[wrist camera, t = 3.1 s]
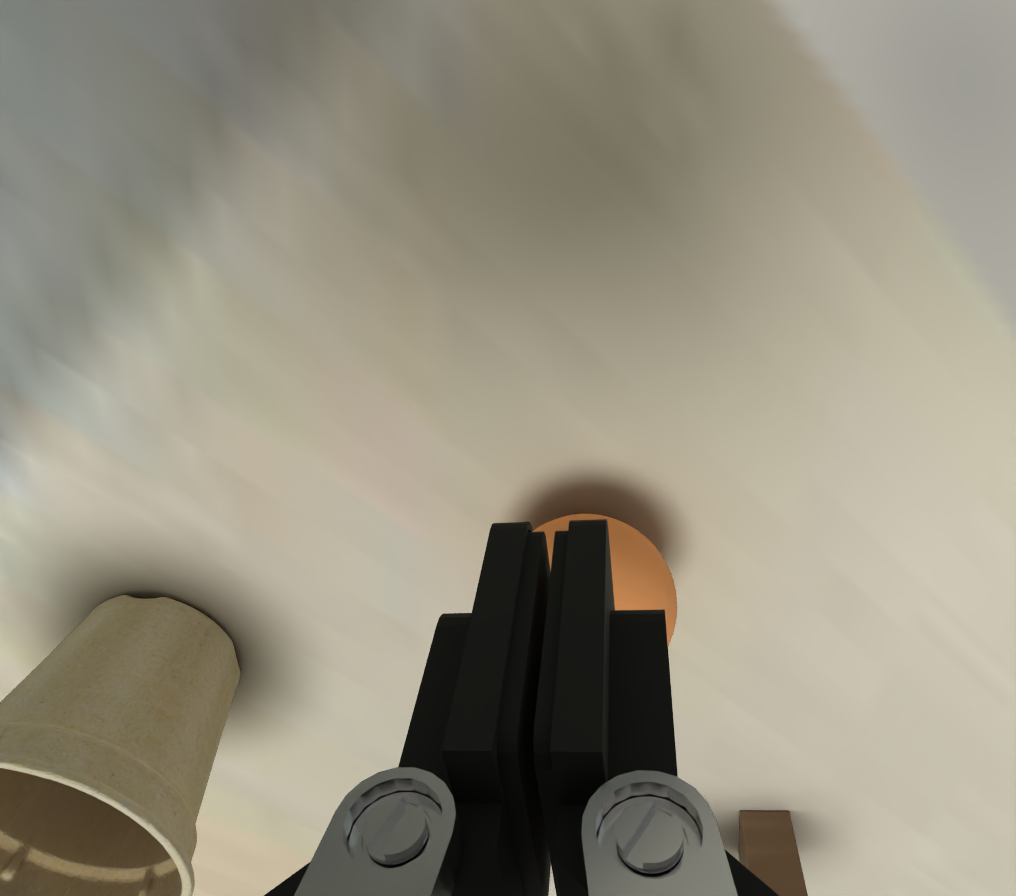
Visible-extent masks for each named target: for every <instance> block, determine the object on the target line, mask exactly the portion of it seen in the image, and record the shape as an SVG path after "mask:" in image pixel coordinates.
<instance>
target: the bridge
mask: <svg viewBox="0 0 1016 896" xmlns="http://www.w3.org/2000/svg"><path fill="white" fill-rule="evenodd" d="M738 853H739V860H740V863H741V864H742V865H744V866H745V867H746V868H747V869H748V870H750V871H751V872H752V873H753V874H754V875H755V876H757V877H758V878H759V879H760V880H761V881H763V882H764V883H765V884H766V885H767V886H768V887H770V888H771V889H772V890H773V891H774V892H776V893H777V894H778V895H779V896H808V895H807V890H806V886H805V881H804V877H803V872H802V868H801V863H800V859H799V854H798V850H797V845H796V840H795V836H794V831H793V827H792V822H791V818H790V813H789V811H740V816H739V850H738Z"/></svg>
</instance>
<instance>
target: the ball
mask: <svg viewBox="0 0 1016 896" xmlns="http://www.w3.org/2000/svg"><path fill="white" fill-rule="evenodd" d="M596 519H607V522H608V531H609V543H610V555H611V568H612V580H613V592H614V604H615V610H662V609H665V618H666V631H667V644H668V645H669V643H670V641H671V638H672V635H673V632H674V628H675V623H676V617H677V597H676V590H675V586H674V582H673V578H672V575H671V573H670V570H669V568H668V566H667V564H666V562H665V560H664V558H663V557H662V556H661V554H660V553H659V551H658V550H657V549H656V547H655V546H654V545H653V544H652V543H651V542H650V541H649V540H648V539H647V538H646V537H645V536H644V535H643V534H641V533H640V532H639V531H638V530H636V529H635V528H633V527H631V526H630V525H628V524H626V523H624V522H621V521H619V520H617V519H614V518H611V517H607V516H603V515H597V514H573V515H568V516H563V517H560V518H557V519H554V520H551V521H549V522H547V523H545V524H543V525H541V526H540V527H538V528H536V529H535V530H534V531H532V532H540V531H544V532H545V535H546V541H547V548H548V556H549V564H550V571H551V564H552V554H553V545H554V536H555V531H568V527H569V521H570V520H596Z"/></svg>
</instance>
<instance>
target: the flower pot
mask: <svg viewBox="0 0 1016 896" xmlns="http://www.w3.org/2000/svg"><path fill="white" fill-rule="evenodd" d="M240 674H241V673H240V668H239V666H238V662H237V658H236V654H235V649H234V645H233V643H232V641H231V639H230V638H229V637H228V635H227V634H226V633H225V632H224V630H223V629H222V628H221V627H220V626H218V625H217V624H216V623H215V622H214V621H213V620H211V619H210V618H209V617H207V616H206V615H204V614H203V613H201V612H199V611H198V610H196V609H194V608H192V607H190V606H188V605H186V604H184V603H181V602H179V601H176V600H173V599H170V598H167V597H160V598H152V599H140V598H133V597H130V596H129V595H121V596H118V597H115V598H112V599H110V600H107V601H105V602H103V603H102V604H100V605H98V606H97V607H96V608H95V609H93V610H92V611H91V612H90V614H89V615H88V616H87V617H86V618H85V619H84V620H83V621H82V622H81V623H80V624H79V625H78V626H77V627H76V628H75V629H74V630H73V631H72V632H71V633H70V634H69V635H68V636H67V637H66V638H65V639H64V640H63V641H62V642H61V643H60V644H59V645H58V646H57V647H56V648H55V649H54V650H53V651H52V652H51V653H50V654H49V655H48V656H47V657H46V658H45V659H44V660H43V661H42V662H41V663H40V664H39V665H38V666H37V667H36V668H35V669H34V670H33V671H32V672H31V673H30V674H29V675H28V676H27V677H26V678H25V679H24V680H23V681H22V682H21V683H20V684H19V685H18V686H17V687H16V688H14V689H13V690H12V691H11V692H10V693H9V694H8V695H7V696H6V697H5V698H4V699H3V700H2V701H1V702H0V896H192V894H193V890H194V872H193V868H192V864H191V860H192V857H193V854H194V851H195V847H196V842H197V832H196V825H195V823H196V820H197V816H198V813H199V809H200V806H201V803H202V799H203V796H204V793H205V789H206V786H207V782H208V779H209V776H210V772H211V769H212V765H213V762H214V759H215V755H216V752H217V749H218V745H219V742H220V739H221V735H222V732H223V728H224V725H225V722H226V719H227V715H228V712H229V709H230V706H231V703H232V700H233V697H234V693H235V690H236V688H237V685H238V682H239V679H240Z"/></svg>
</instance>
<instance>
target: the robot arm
mask: <svg viewBox="0 0 1016 896" xmlns="http://www.w3.org/2000/svg"><path fill="white" fill-rule="evenodd" d="M550 865H552V871H553V877H554V883H555V888H556V894H557V896H779V895H778V894H777V893H776V892H774V891H773V890H772V889H771V888H770V887H768V886H767V885H766V884H765V883H764V882H763V881H761V880H760V879H759V878H758V877H757V876H755V875H754V874H753V873H752V872H751V871H750V870H748V869H747V868H746V867H745V866H744V865H742V864H741V863H740V862H739V861H738V860H737V859H735V858H734V857H733V856H732V855H731V854H729V853H728V852H727V851H726V850H725V849H724V846H723V842H722V839H721V835H720V832H719V828H718V825H717V821H716V819H715V817H714V814H713V812H712V810H711V808H710V806H709V804H708V802H707V801H706V800H705V799H704V798H703V796H702V795H701V794H700V793H699V792H698V791H697V790H696V789H695V788H694V787H693V786H691V785H690V784H688V783H686V782H685V781H683V780H681V779H680V778H678V777H677V763H676V750H675V737H674V724H673V710H672V697H671V684H670V671H669V657H668V644H667V631H666V618H665V609H662V610H615V604H614V592H613V580H612V568H611V555H610V543H609V531H608V522H607V519H596V520H570V521H569V527H568V531H555V536H554V545H553V554H552V564H551V571H550V564H549V556H548V548H547V541H546V535H545V532H544V531H540V532H532V527H531V524H530V522H516V523H493V524H492V526H491V529H490V533H489V538H488V542H487V547H486V551H485V556H484V560H483V565H482V569H481V574H480V578H479V583H478V587H477V592H476V597H475V601H474V606H473V610H472V613H454V614H442V615H441V617H440V618H439V620H438V623H437V626H436V630H435V633H434V637H433V641H432V644H431V648H430V652H429V656H428V659H427V663H426V667H425V670H424V674H423V678H422V682H421V685H420V689H419V693H418V696H417V700H416V704H415V708H414V711H413V715H412V719H411V722H410V726H409V730H408V733H407V737H406V741H405V745H404V748H403V752H402V756H401V759H400V763H399V767H397V768H393V769H389V770H385V771H382V772H378V773H376V774H375V775H373V776H371V777H369V778H367V779H365V780H363V781H362V782H360V783H359V784H358V785H357V786H356V787H355V788H354V789H353V790H351V791H350V792H349V793H348V794H347V795H346V796H345V798H344V799H343V801H342V802H341V804H340V805H339V807H338V808H337V810H336V811H335V813H334V815H333V817H332V819H331V821H330V823H329V825H328V828H327V830H326V832H325V834H324V836H323V838H322V840H321V842H320V844H319V846H318V848H317V850H316V852H315V854H314V856H313V858H312V860H311V862H310V863H308V864H307V865H306V866H304V867H303V868H301V869H300V870H299V871H297V872H296V873H295V874H293V875H292V876H290V877H289V878H288V879H286V880H285V881H283V882H282V883H281V884H279V885H278V886H277V887H275V888H274V889H272V890H271V891H270V892H268V893H267V894H266V895H264V896H548V892H549V878H550Z"/></svg>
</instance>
